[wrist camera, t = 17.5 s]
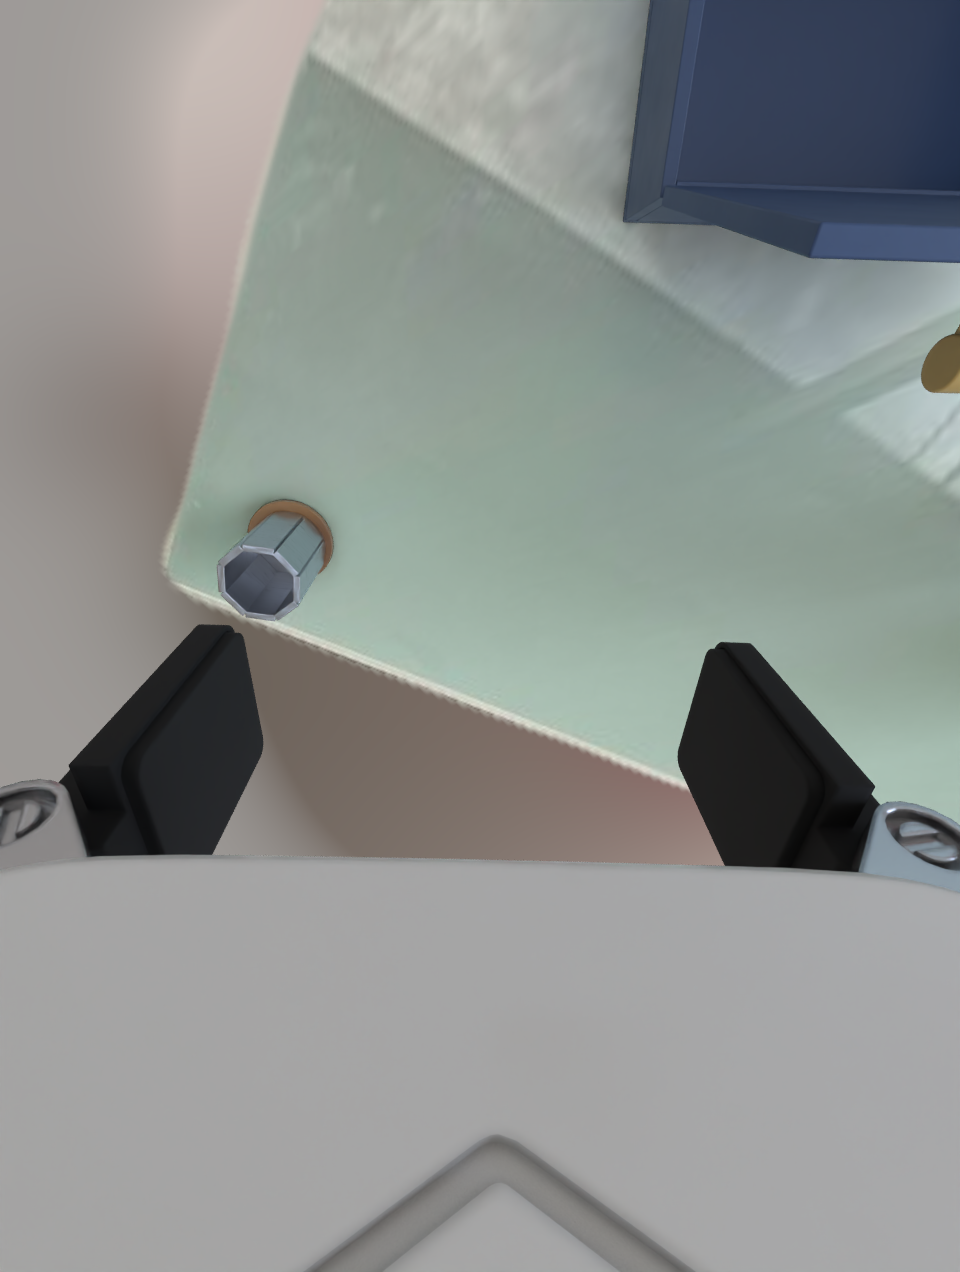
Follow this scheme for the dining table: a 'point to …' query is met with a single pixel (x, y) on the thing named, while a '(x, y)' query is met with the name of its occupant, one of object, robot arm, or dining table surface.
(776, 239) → the lid
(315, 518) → the coaster
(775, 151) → the chest
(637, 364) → the dining table surface
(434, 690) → the dining table surface
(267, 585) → the tumbler
